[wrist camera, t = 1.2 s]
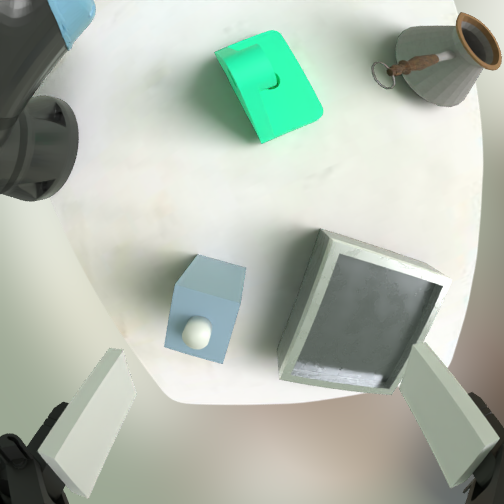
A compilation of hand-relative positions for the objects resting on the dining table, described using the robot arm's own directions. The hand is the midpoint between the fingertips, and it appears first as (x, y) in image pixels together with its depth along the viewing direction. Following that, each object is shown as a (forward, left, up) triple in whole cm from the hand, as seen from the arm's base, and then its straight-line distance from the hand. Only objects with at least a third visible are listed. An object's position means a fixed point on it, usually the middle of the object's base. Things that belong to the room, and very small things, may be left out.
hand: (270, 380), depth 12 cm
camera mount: (-5, +18, -24) cm, 30 cm away
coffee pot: (+11, +25, -24) cm, 36 cm away
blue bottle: (-4, -7, -24) cm, 25 cm away
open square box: (+14, -5, -23) cm, 27 cm away
